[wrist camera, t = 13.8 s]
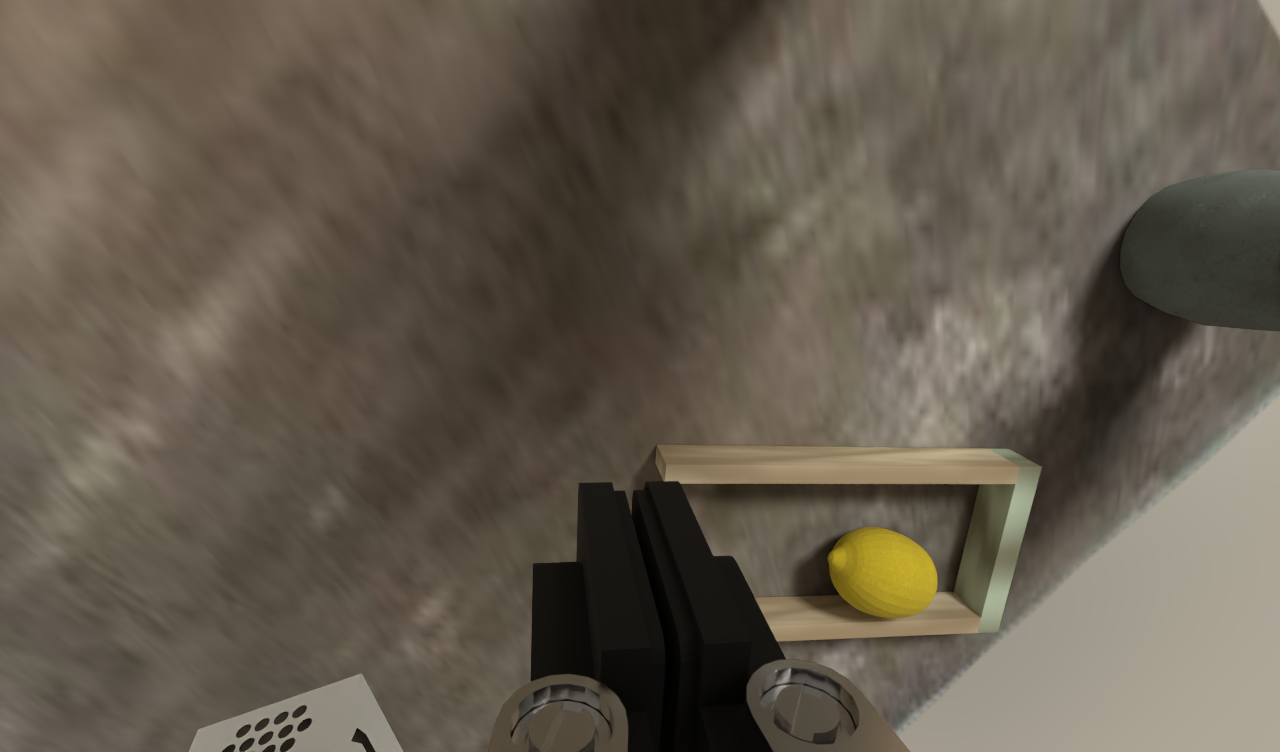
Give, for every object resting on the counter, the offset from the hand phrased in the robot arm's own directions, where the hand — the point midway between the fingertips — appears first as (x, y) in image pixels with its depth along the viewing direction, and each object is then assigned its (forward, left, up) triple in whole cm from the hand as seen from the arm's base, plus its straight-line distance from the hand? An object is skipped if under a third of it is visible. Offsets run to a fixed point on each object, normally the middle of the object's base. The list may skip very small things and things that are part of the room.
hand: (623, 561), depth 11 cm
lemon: (+15, +17, -24) cm, 33 cm away
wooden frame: (+15, +18, -27) cm, 36 cm away
